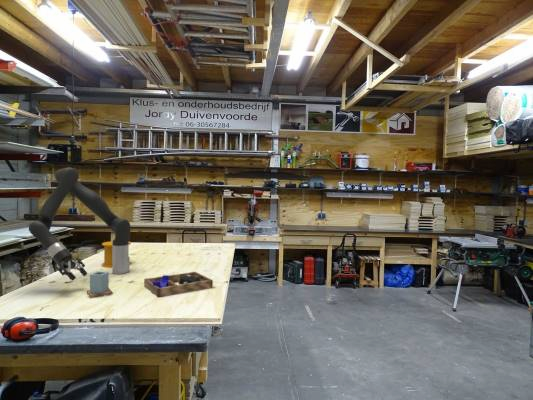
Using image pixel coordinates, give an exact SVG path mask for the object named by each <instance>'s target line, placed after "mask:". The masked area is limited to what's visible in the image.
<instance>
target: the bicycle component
mask: <svg viewBox="0 0 533 400" xmlns="http://www.w3.org/2000/svg"><path fill="white" fill-rule="evenodd" d="M203 276H204V275H203ZM203 276H197V277H196V278H195V277H194V276H193V275H187V276H182V277H180V281H179V282H178V285H181V284H187V283H188V282H189V283H193V282H200V279H203V278H204V277H203Z"/></svg>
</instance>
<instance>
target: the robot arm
mask: <svg viewBox="0 0 533 400" xmlns="http://www.w3.org/2000/svg"><path fill="white" fill-rule="evenodd" d="M54 178H55V181H56V182H57V183H58V185H57V186H56V188H55V189H54V190H53V192H52V193H51V194H50V196H48V197H47V199H46V200H45V201H44V203H43V204H42V207H41V208H40V210H39V212H38V219H37V220H36V221H32V222H30V223H29V225H28V231H29V233H30V234H31V235H32V236H33V237H34V239H36V240H37V241H38V242H39V243H40V244H41V246H42V247H43V248H44V250H45V251H46V252H47V253H48V255H49V256H50V257H51V258H52V259H53V261H54V262H55V263H56V265H55V268H56V270H57V271H58V272H59V273H60V274H61V275H62V276H67V277H68V278H69V280H71V281H75V280H76V276H75V275H74V274H73V272H72V271H71V270H77V271H79V273H81V275H82V276H83V277H86V276H87V275H88V272H87V270H85V268H84V267H86V264H85V263H84V262H83V261H82V260H81V259H80V258H79V257H76V258H75V259H74V258H73V254H72V253H71V252H70V251H69V249H67V247H66V246H65V244H63V243H62V242H61V241H60V240H59V239H58V237H56V236H55V235H54V234H53V233H52V232H51V231H50V230H51V227H52V224H53V221H54V218H55V216H56V215H57V213H58V211H59V209H60V207H61V205H62V203H63V202H64V200H65V198H66V197H67V196H68V194H69V193H70V194H71V193H72V195H74V197H76V198H77V200H79V201H80V202H81V203H82V204H83V205H84V206H85V207H86V208H88V209H89V210H90V211H91V212H92V213H93V214H94V215H95V216H97V217H98V218H100V219H101V220H102V221H103V222H104V223H105V225H106V226H107V227H108V228H109V229H110V230H111V231H112V232H113V233H114V234H115V238H114V239H113V240H112V241H113V242H112V268H111V271H112V274H115V275H123V274H127V273H130V266H131V264H130V262H131V261H130V260H131V259H130V256H129V254H130V253H129V246H130V245H129V242H130V239H131V223H130V221H129V220H128V219H125V218H121V217H118V215H116V214H115V213H114V212H112V210H111V209H110V208H109V205H108V204H107V202H106V201H105V199H104V198H102V197H101V196H100V195H99V194H98V193H97V192H95V191H93V190H92V189H91V188H88V187H87V186H85V185H83V184H82V183H80V182H79V181H78V180H79V178H80V174H79V171H78V170H77V169H76V168H74V167H71V166H70V167H64V168H60V169H58V170H57V171H55V173H54Z"/></svg>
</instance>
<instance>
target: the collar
mask: <svg viewBox="0 0 533 400" xmlns="http://www.w3.org/2000/svg"><path fill="white" fill-rule="evenodd" d="M109 275H110V274H109V272H108V271H96V272H93V273H90V274H89V290H90V293H100V294H101V293H103V292H105V291H107V290H109V289H110V288H109V277H110V276H109Z"/></svg>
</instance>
